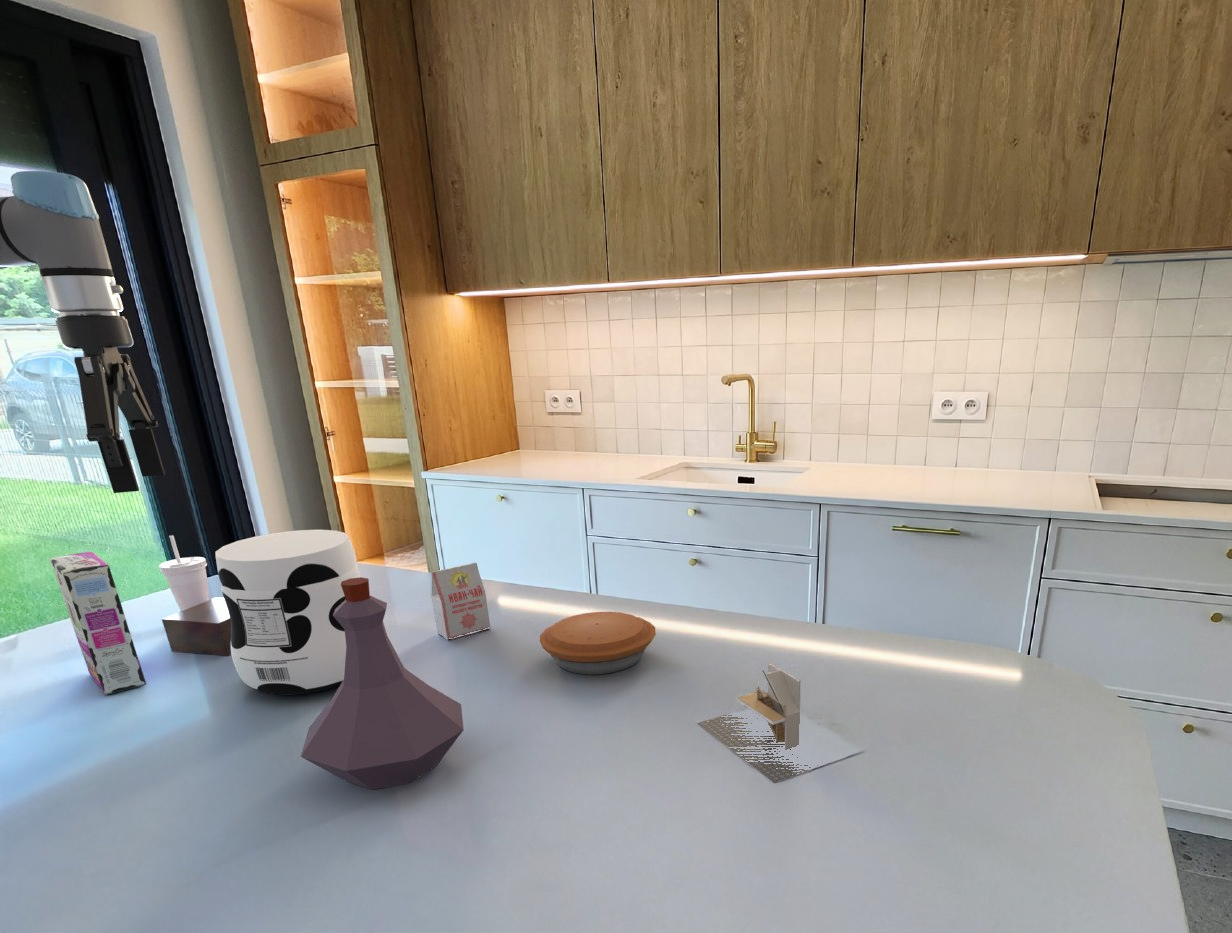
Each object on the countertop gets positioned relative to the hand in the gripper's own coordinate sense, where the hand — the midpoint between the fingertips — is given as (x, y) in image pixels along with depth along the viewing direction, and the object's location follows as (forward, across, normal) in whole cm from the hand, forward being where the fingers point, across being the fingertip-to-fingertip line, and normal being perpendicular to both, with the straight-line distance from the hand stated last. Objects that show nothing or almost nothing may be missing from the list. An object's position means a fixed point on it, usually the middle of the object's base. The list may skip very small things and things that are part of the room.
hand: (141, 483), depth 108 cm
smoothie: (+24, +11, +1) cm, 26 cm away
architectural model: (+24, -61, -68) cm, 94 cm away
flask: (+24, -51, -29) cm, 63 cm away
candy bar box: (+24, -12, +6) cm, 27 cm away
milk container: (+24, -22, -19) cm, 38 cm away
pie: (+24, -31, -55) cm, 68 cm away
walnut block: (+24, -2, -5) cm, 24 cm away
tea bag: (+24, -13, -39) cm, 47 cm away
